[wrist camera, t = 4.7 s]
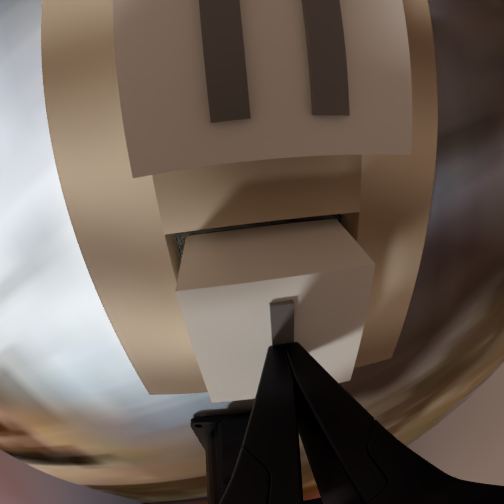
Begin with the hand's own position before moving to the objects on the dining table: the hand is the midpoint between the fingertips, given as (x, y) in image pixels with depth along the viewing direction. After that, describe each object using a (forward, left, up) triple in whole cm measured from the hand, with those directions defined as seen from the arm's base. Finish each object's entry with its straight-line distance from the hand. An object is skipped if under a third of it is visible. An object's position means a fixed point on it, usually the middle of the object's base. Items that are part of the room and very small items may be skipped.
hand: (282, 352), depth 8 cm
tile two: (+8, 0, -2) cm, 8 cm away
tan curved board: (+8, 0, -4) cm, 9 cm away
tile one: (0, 0, -3) cm, 3 cm away
